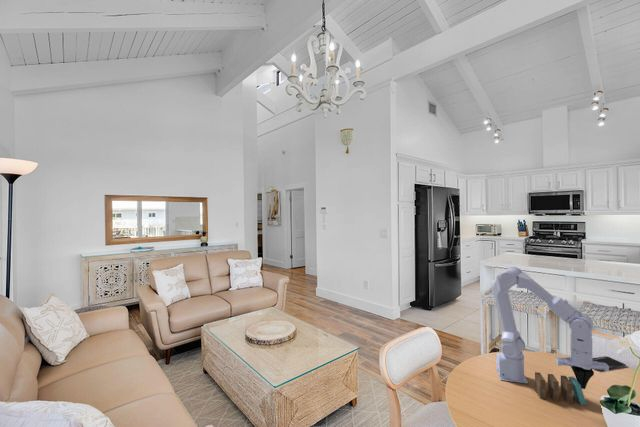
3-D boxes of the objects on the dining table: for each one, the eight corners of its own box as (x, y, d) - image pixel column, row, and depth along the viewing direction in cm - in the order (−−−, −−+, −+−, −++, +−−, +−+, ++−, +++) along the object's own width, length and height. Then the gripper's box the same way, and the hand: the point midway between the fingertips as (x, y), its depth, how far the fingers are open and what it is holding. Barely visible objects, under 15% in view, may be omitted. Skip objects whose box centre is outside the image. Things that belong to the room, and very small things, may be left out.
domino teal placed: (581, 404, 104) (574, 384, 105) (574, 395, 109) (568, 376, 109) (586, 404, 104) (580, 384, 104) (579, 395, 108) (573, 376, 109)
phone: (578, 360, 131) (606, 355, 133) (578, 362, 131) (606, 358, 134) (598, 370, 123) (627, 365, 126) (598, 372, 123) (627, 367, 126)
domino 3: (567, 402, 106) (566, 383, 105) (560, 394, 110) (560, 375, 110) (572, 403, 105) (572, 383, 105) (566, 394, 110) (565, 376, 110)
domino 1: (540, 398, 108) (539, 379, 108) (535, 390, 113) (534, 372, 113) (545, 399, 108) (545, 380, 107) (540, 391, 112) (540, 372, 112)
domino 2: (553, 400, 107) (553, 381, 107) (547, 392, 112) (547, 373, 111) (558, 401, 106) (558, 382, 106) (553, 392, 111) (552, 374, 111)
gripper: (561, 352, 104) (561, 390, 105) (614, 357, 100) (614, 397, 100) (553, 343, 111) (553, 379, 111) (602, 347, 106) (602, 385, 107)
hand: (581, 387), depth 106 cm, fingers closed
